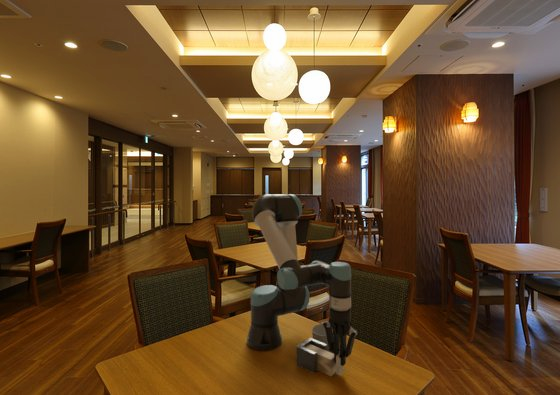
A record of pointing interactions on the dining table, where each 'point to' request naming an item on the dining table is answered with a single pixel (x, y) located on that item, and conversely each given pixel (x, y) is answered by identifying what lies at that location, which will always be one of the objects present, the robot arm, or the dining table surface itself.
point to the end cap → (308, 354)
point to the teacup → (320, 334)
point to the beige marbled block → (323, 360)
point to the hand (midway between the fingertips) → (339, 372)
